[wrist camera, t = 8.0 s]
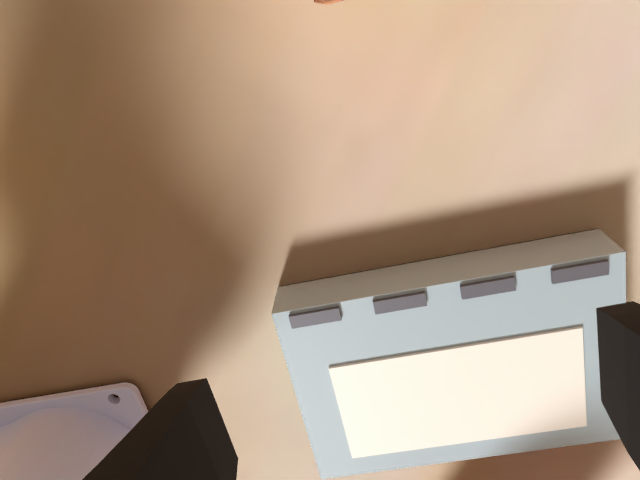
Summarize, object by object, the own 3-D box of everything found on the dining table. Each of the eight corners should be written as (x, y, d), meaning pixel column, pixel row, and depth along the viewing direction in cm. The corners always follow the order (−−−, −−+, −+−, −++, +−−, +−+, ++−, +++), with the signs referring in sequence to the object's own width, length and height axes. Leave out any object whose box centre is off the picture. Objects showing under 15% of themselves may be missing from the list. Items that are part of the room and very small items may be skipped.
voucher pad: (322, 443, 24) (321, 482, 22) (278, 287, 21) (270, 316, 19) (604, 403, 22) (629, 441, 20) (599, 228, 19) (628, 253, 17)
